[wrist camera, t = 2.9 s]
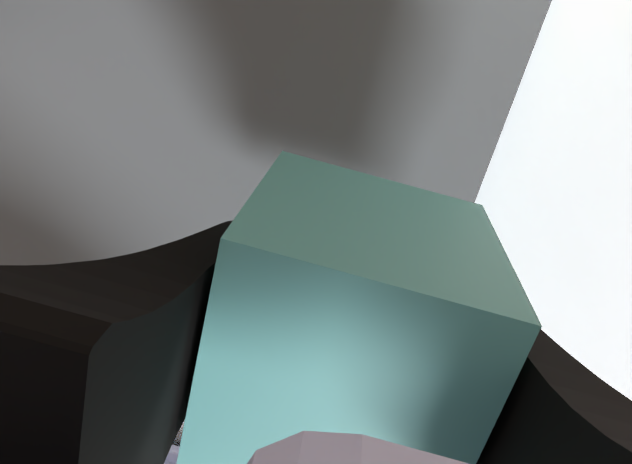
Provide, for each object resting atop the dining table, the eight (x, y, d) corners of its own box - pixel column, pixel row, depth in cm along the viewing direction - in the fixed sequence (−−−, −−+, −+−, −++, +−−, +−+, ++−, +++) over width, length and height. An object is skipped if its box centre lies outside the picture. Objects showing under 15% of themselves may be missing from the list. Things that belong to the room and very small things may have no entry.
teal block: (417, 370, 14) (434, 550, 9) (243, 321, 14) (173, 477, 9) (481, 205, 12) (541, 326, 8) (282, 150, 12) (220, 237, 8)
